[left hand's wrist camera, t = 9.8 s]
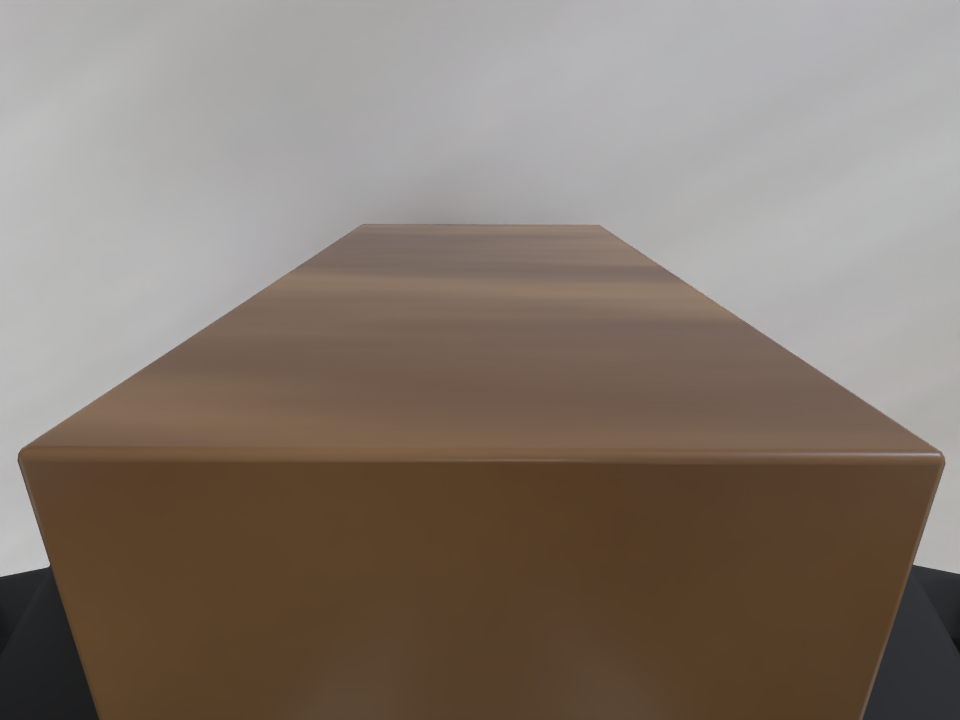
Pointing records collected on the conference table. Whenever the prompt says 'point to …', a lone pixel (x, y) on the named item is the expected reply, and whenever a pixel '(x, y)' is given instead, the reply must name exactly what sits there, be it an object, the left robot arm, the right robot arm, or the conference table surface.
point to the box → (480, 500)
